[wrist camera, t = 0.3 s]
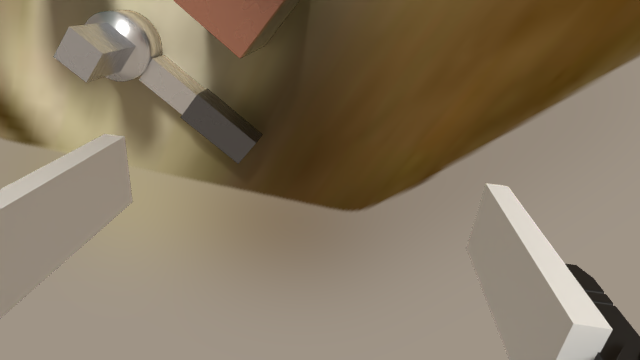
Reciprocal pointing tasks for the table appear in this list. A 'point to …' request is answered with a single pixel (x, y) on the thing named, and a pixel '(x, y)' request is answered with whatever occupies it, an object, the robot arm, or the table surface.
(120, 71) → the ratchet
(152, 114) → the table surface
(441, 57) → the table surface
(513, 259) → the robot arm
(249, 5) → the red-topped grey block
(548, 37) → the table surface
